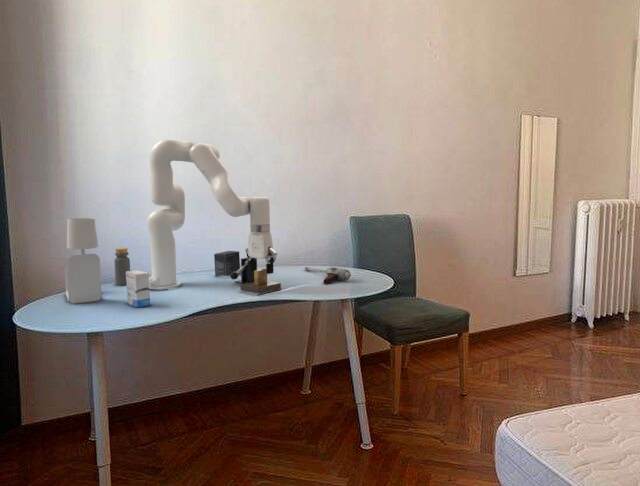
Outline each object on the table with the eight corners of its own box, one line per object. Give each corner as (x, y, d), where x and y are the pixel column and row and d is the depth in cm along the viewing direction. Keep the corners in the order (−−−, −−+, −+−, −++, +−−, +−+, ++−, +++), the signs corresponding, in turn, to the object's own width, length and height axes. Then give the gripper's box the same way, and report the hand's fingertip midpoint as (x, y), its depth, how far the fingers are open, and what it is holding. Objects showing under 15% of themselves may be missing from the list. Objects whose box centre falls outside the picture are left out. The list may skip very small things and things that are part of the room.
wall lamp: (96, 291, 207) (92, 214, 203) (103, 302, 189) (99, 219, 185) (65, 294, 201) (61, 215, 198) (70, 306, 183) (65, 220, 180)
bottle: (115, 283, 222) (114, 247, 220) (130, 282, 224) (129, 247, 222) (115, 285, 216) (113, 249, 215) (130, 284, 218) (128, 249, 217)
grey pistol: (287, 280, 246) (310, 271, 254) (330, 288, 218) (355, 279, 226) (285, 270, 245) (308, 262, 253) (328, 277, 218) (353, 268, 225)
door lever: (235, 281, 214) (232, 275, 212) (230, 280, 216) (227, 274, 214) (255, 264, 221) (252, 258, 220) (250, 263, 223) (247, 257, 222)
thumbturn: (257, 284, 205) (257, 270, 205) (254, 284, 206) (254, 269, 206) (267, 282, 209) (267, 268, 208) (263, 282, 210) (263, 268, 210)
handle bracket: (247, 287, 215) (246, 260, 214) (234, 284, 220) (234, 258, 219) (263, 283, 222) (263, 258, 221) (251, 280, 227) (250, 256, 226)
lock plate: (257, 295, 200) (257, 287, 200) (240, 291, 207) (240, 284, 206) (280, 290, 210) (280, 282, 209) (263, 286, 216) (263, 279, 215)
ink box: (150, 305, 185) (149, 272, 184) (136, 308, 181) (135, 274, 180) (140, 301, 191) (139, 269, 190) (126, 303, 187) (125, 271, 186)
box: (229, 272, 246) (228, 250, 245) (240, 273, 243) (240, 251, 242) (214, 276, 236) (213, 253, 235) (225, 277, 234) (225, 254, 232)
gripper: (238, 228, 208) (239, 271, 210) (268, 231, 197) (269, 276, 199) (253, 226, 214) (254, 268, 215) (282, 229, 203) (283, 273, 205)
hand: (261, 272), depth 207 cm, fingers open, 9 cm apart
